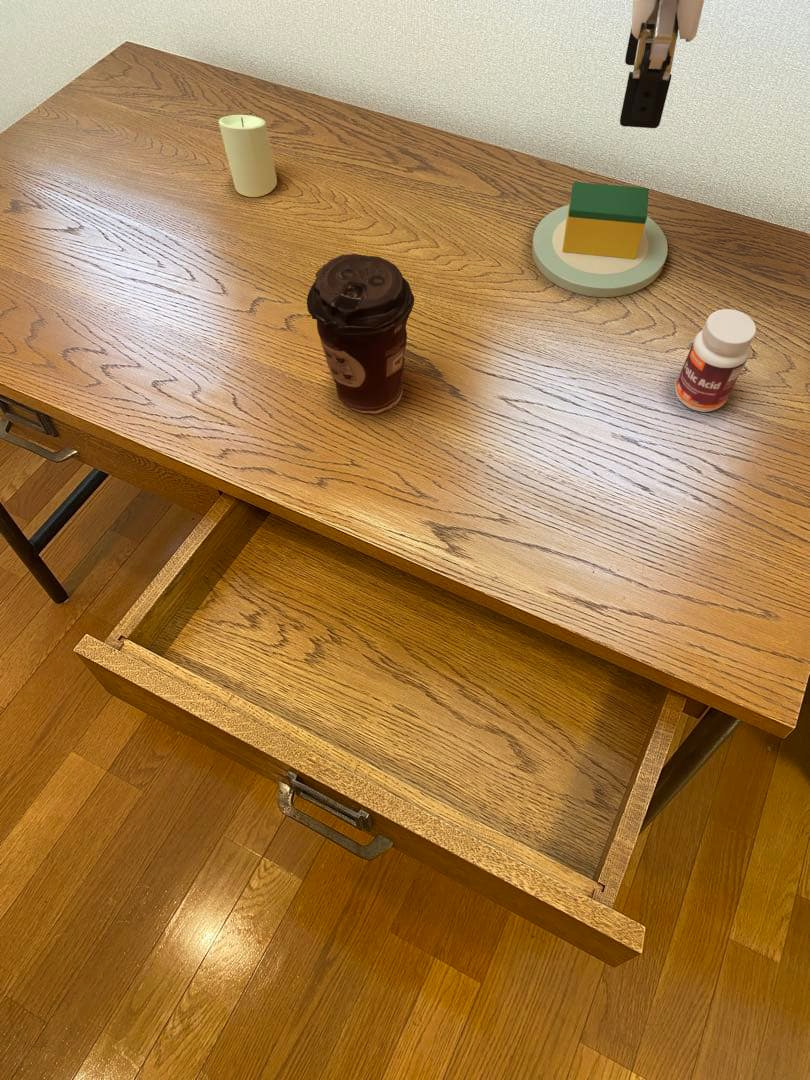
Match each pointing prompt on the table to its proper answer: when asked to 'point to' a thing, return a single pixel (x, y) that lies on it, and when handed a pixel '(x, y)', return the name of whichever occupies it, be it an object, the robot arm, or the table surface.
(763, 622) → the table surface
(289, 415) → the table surface
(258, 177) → the candle
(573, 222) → the sponge
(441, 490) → the table surface
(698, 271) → the table surface
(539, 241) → the plate
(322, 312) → the coffee cup
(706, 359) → the pill bottle
